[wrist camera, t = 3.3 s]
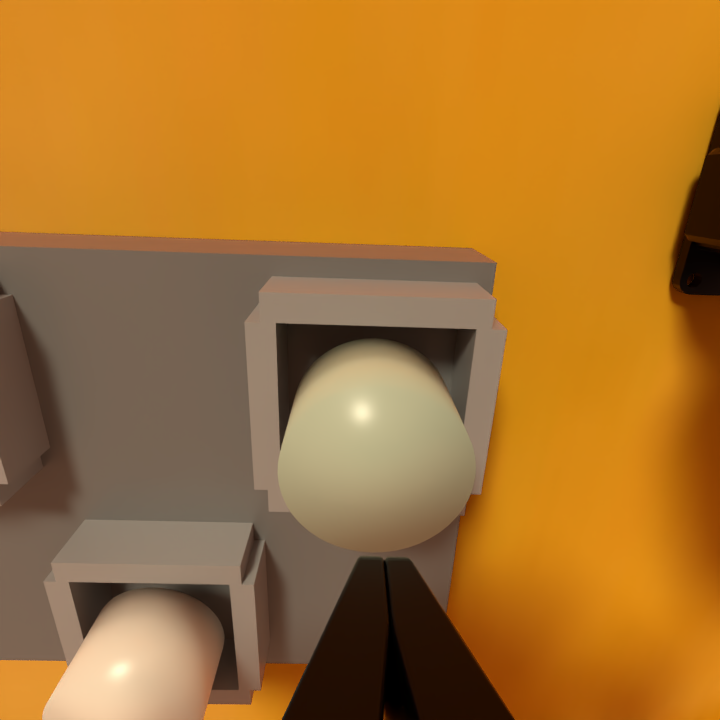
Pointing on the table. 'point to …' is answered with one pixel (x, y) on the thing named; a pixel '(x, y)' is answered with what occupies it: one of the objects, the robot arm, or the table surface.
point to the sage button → (375, 449)
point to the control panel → (202, 425)
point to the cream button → (142, 661)
